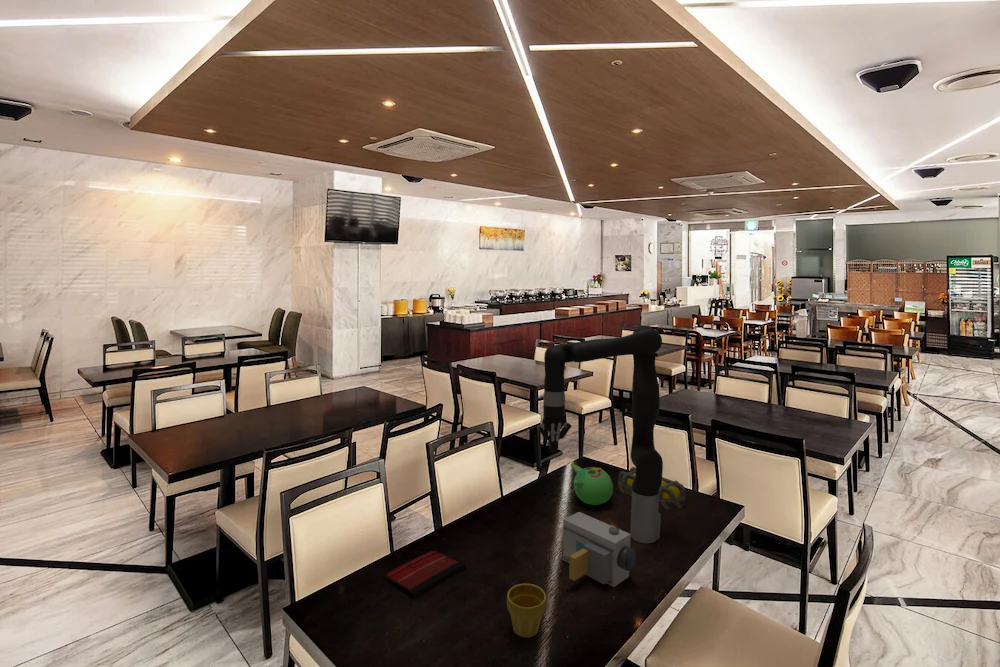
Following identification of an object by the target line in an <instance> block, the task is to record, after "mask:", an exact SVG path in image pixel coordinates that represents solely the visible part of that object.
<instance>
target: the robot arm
mask: <svg viewBox="0 0 1000 667" xmlns="http://www.w3.org/2000/svg"><path fill="white" fill-rule="evenodd" d="M662 345H663V338H662V335H661V334H660V333H659V331H658V330H656V329H655V328H653V327H651V326H649V325H641V326H638V327H637V328H635V329H634V330H633V332H632V333H631V334H628V335H623V336H620V337H611V338H610V337H609V338H596V339H588V340H583V341H582V340H581V341H578V342H573V343H561V344H560V343H559V344H553V345H551V346H549V347H547V348H546V349H545V351H544V357H543V358H544V360H543V361H544V362H543V363H544V380H543V381H544V383H543V386H544V387H543V388H544V389H543V391H544V392H543V397H542V398H543V407H542V408H543V409H542V412H543V418H542V421H541V423H540V424H539V425H536V427H535V428H536V429H537V431H538V432H539V433H540V434H541V435H542V437H543V438H544V439H545V440H546V441H549V445H548V446H549V450H551V452H557V451H558V450H559V440H563V439H564V438H565V437H566V435H567V434H568V432H569V431H570V429H571V428H572V425H571V423H569V422H567V421H566V417H565V416H566V394H565V384H566V383H565V364H566V363H567V364H568V363H572V362H574V363H585V362H590V361H595V360H596V361H597V360H602V359H607V358H612V357H620V356H630V355H632V360H633V369H632V370H633V371H632V372H633V373H632V385H631V409H632V410H631V411H632V412H631V413H632V419H631V420H632V438H631V449H630V460H631V462H632V464H633V465H634V466H635V468H636V477H635V480H634V481H633V483H632V496H631V502H630V503H631V505H630V506H631V507H630V508H631V509H630V530H629V531H630V533H629V534H631V535H630V539H632V540H633V541H635V542H637V543H640V544H653V543H655V542H656V541H658V540H660V535H661V519H662V517H661V512H659V507H658V506H659V489H660V487H661V483H662V477H663V472H664V471H663V470H664V469H663V468H664V463H663V457H662V456H661V454H660V453H659V451H657V450H656V447H655V441H654V440H655V439H654V438H655V437H654V433H655V432H654V431H655V426H656V422H657V420H658V417H659V414H660V406H661V404H660V403H661V402H660V399H661V398H660V396H661V395H660V388H659V387H660V386H659V379H658V376H657V370H656V354H657V352H658V351H660V349H661V347H662ZM545 429H546V430H547V432H546V431H545ZM634 466H633V467H634Z"/></svg>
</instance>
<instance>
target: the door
mask: <svg viewBox="0 0 1000 667" xmlns="http://www.w3.org/2000/svg"><path fill="white" fill-rule="evenodd" d="M568 564H569V568H568V569H569V570H568V574H569V575H568V578H569V579H570V580H572V581H573V582H575V581H577V580H579V579H580V578H581V577H584V576H585V575H586V576H587V577H589V578H591V579H593V580H595V581H596V582H598V583H601V584H603V585H605V584H607V582H608V581H610V577H611V552H610V551H608V550H606V549H604V548H602V547H600V546H598V545H596V544H594V543H592V542H588V543H586V544H585V545H583V549H581V550H579V551H578V552H576V553H574V554H572V555H571V556H570V562H569V563H568Z"/></svg>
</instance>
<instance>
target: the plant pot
mask: <svg viewBox="0 0 1000 667" xmlns="http://www.w3.org/2000/svg"><path fill="white" fill-rule="evenodd" d="M546 607H547V593H546V592H545V591H544V590H543V589H542V588H541V587H540V586H538V585H536V584H532V583H519V584H515V585H513V586H512V587H510V589H509V590H508V591H507V594H506V608H507V610H508V612H509V614H510V617H511V618H510V619H511V624H512V628H513V629H512V630H513V632H514V633H515V634H516V636H518V637H522V638H532V637H535V636H536V635H537V634H538V632H539V630H540V625H541V621H542V616H543V614H544V613H545V611H546V610H547V608H546Z"/></svg>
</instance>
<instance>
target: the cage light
mask: <svg viewBox="0 0 1000 667" xmlns="http://www.w3.org/2000/svg"><path fill="white" fill-rule="evenodd" d="M635 477H636V467H634V466H632V467H630V468H629V472H627V471H620V472H619V474H618V479H617V488H618V489H617V490H619V492H620V493H623V494H624V493H625V495H627V494H628V495H627V496H629V495H630V496H629V497H632V483H633V481H634V480H635ZM685 503H686V488H685V486H684V485H683V484H682V483H680V482H679V481H678V480H671V479H668V478H666V477H663V476H662V483H661V487H660V489H659V506H658V509H664V510H679V509H682V508H684V507H685Z"/></svg>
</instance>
